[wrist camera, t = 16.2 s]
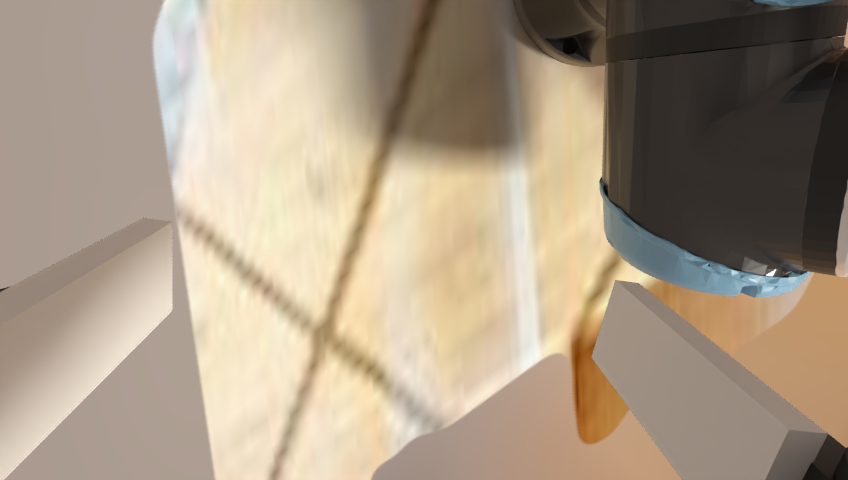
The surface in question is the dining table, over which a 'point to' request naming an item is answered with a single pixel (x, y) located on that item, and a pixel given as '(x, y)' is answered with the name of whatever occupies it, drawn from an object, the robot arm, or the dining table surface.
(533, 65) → the dining table surface
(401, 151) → the dining table surface
